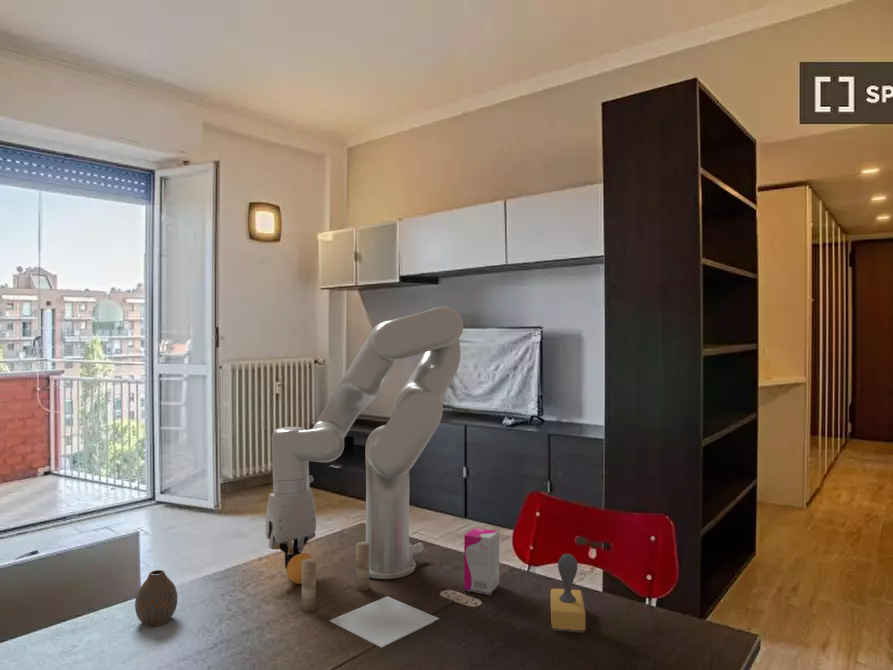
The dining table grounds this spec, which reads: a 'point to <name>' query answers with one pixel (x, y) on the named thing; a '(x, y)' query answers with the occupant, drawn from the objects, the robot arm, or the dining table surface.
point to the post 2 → (362, 566)
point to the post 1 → (308, 585)
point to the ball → (296, 567)
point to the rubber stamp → (567, 598)
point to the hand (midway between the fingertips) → (293, 570)
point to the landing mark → (384, 621)
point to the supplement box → (481, 560)
